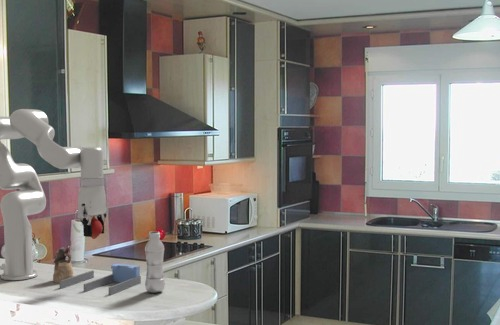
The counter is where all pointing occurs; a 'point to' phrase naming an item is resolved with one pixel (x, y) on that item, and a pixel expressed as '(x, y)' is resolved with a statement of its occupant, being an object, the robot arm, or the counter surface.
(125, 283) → the grey parallel strips
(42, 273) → the counter surface
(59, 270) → the painted ceramic spouted vessel
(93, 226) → the pomegranate
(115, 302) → the counter surface
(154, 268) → the plastic bottle
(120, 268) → the blue bracket
